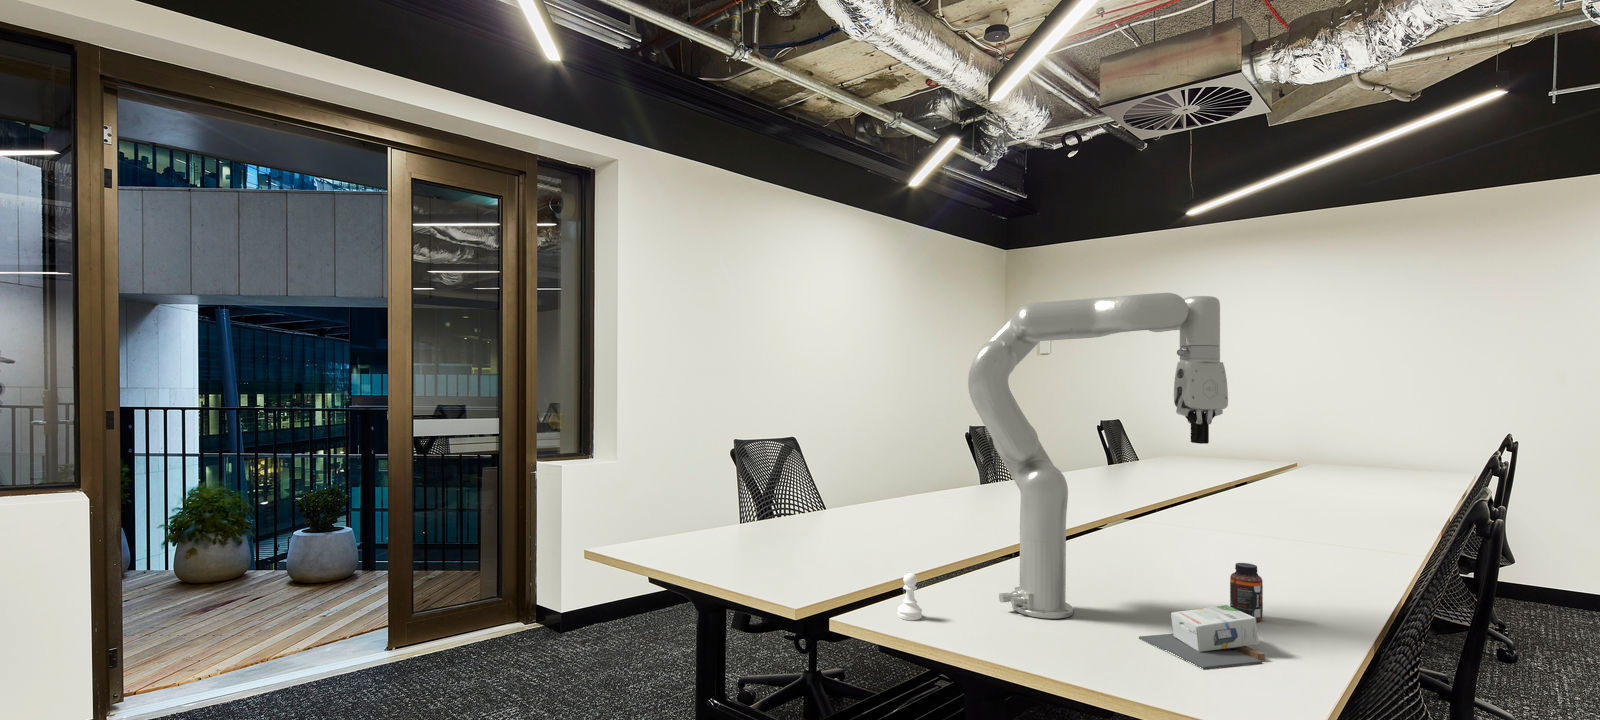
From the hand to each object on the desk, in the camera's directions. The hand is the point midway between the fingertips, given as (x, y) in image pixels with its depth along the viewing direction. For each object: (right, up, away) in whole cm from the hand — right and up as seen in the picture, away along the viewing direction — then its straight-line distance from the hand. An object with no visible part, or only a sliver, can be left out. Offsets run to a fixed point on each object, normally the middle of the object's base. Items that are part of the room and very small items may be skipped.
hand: (1199, 442), depth 158 cm
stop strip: (-3, -37, -16) cm, 40 cm away
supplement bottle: (+11, -38, +2) cm, 39 cm away
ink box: (0, -33, -15) cm, 36 cm away
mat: (-10, -36, -18) cm, 42 cm away
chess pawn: (-61, -36, -1) cm, 71 cm away
